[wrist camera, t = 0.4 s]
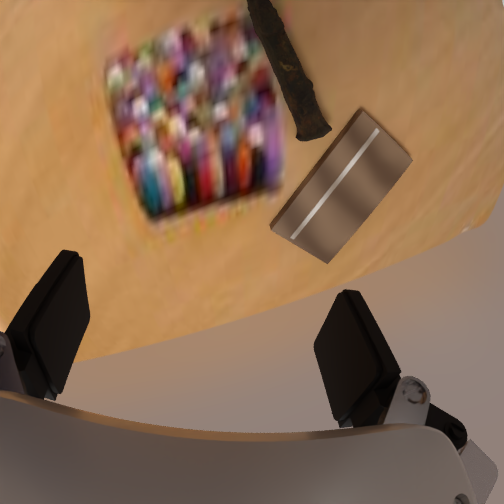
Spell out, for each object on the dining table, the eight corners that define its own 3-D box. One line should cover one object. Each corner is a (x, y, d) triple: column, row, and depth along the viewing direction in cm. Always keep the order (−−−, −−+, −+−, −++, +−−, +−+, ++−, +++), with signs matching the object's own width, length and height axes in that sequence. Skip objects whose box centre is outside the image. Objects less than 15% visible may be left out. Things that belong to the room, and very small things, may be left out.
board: (358, 109, 32) (363, 111, 31) (407, 157, 36) (413, 160, 34) (269, 225, 40) (271, 230, 38) (324, 258, 43) (327, 264, 42)
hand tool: (325, 129, 34) (338, 135, 30) (295, 139, 34) (304, 146, 30) (270, -10, 24) (277, -23, 20) (237, -1, 25) (239, -13, 21)
